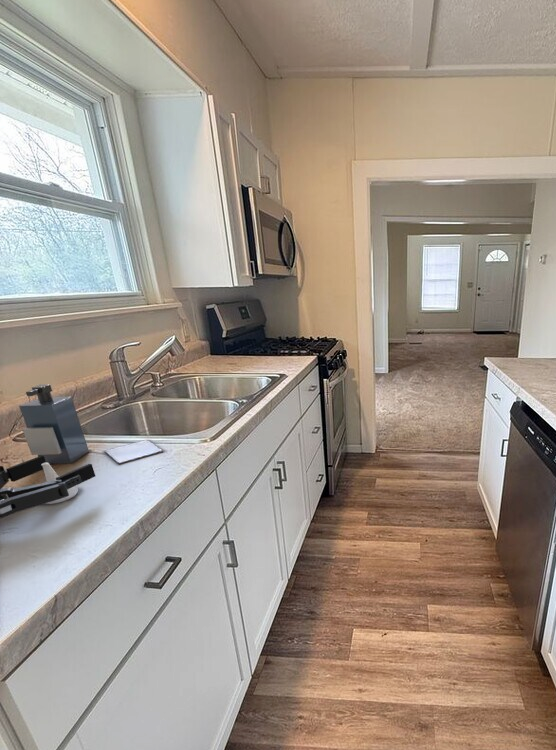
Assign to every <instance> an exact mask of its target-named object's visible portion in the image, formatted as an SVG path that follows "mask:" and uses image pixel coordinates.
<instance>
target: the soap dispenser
mask: <svg viewBox="0 0 556 750" xmlns="http://www.w3.org/2000/svg"><path fill="white" fill-rule="evenodd" d="M52 392H53V389H52V385H51V384H38V385H35V386H31V389H30V390H27V391H25V394H26V397H33V396H36V398H35V399H33V400H31V401H28V402H25V403H23V404H20V405H18V407H19V410H20V412H21V416H22V418H23V420H24V424H25V425H26V428H33V427H53V429H54V432H55V435H56V438H57V441H58V444H59V447H60V449H61V453H60V454H48V455H37V457H39V456H44V458H45V461H46V462H47V463H49V464H72V463H74V462H75V461H76V460H79V459H80V458H81V457H84V455H86V454H88V453H90V450H89V446H88V444H87V439H86V437H85V434H84V430H83V428H82V424H81V422H80V419H79V418H80V417H79V415H78V412H77V409H76V405H75V403H74V400H73V396H53V395H52Z"/></svg>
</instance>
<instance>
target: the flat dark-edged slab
mask: <svg viewBox="0 0 556 750" xmlns="http://www.w3.org/2000/svg"><path fill="white" fill-rule="evenodd" d="M104 453H105V454H106V455H107V456H109V457H110V458H111V459H112V460H113V461H115V463H117V464H118V465H122V464H126V463H130V462H132V461H133V462H134V461H136V460H140V459H143V458H147V457H151V456H154V455H158V454H161V453H164V450H163V449H161V448H160V447H159V446H157V445H156V444H154V443H153V442H151V441H149V440H148V439H144V440H140V441H137V442H132V443H129V444H125V445H121V446H118V447H113V448H110V449H109V448H108V449H106V450H104Z"/></svg>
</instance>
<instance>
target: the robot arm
mask: <svg viewBox="0 0 556 750" xmlns="http://www.w3.org/2000/svg"><path fill="white" fill-rule="evenodd" d="M45 462H46V461H45V458H44V456H39V457H38V456H37V457H34V458H31V459H29V460H26V461H23V462H20V463H18V464H15V465H13V466H10V467H6V468H5V467H4V466H3V465H0V519H4V518H6V517H9V516H11V515H13V514H16V513H19V512H22V511H26V510H28V509H32V508H36V507H38V506H42V505H44V504H45V503H48V502H51V501H55V500H58V499H61V498H64V497H67V496H69V493H68V491H67V489H69V488H72V487H74V486H76V485H77V486H78V485H80V484H83V483H84V482H87V481H88V480H91V479H93V478H95V477H96V473H95V470H94V467H93V464H92V463H88V464H85V465H82V466H80V467H77V468H75V469H73V470H70V471H69V472H66V473H64V474H62V475H58V476H59V477H57V478H56V481H51V482H46V481H45V482H42V483H37V484H32V485H28V486H22V487H18V488H13V487H5V486H6V485H7V484H8V483H9V482H10V481H11V482H13V483H14V482H16V481H19V480H21V479H22V480H23V479H24V478H27V477H29V476H32V475H34V474H36V473H39V472H41V471H44V469H43V466H42V465H41V464H43V463H45ZM4 487H5V488H4ZM45 505H46V504H45Z"/></svg>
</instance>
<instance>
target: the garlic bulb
mask: <svg viewBox="0 0 556 750" xmlns="http://www.w3.org/2000/svg"><path fill="white" fill-rule="evenodd" d="M41 465H42V466H43V469H44V470H43V473H44V476H45V478H44V479H45V483H46V482H51V481H56V478H57V477H59V476H60V475H58V473H57V472H56V471H55V469H54V468H53V467H52V465H50V464H49V463H47V462H45V463H43V464H41ZM67 491H68V493H69V496H67V497H64V498H61V499H58V500H55V501H51V502H48V503H45V505H53V504H58V503H61V502H65V501H67V500H70V499H72V498H73V497H75V496H76V495H77V494H78V492H79V487H78V485H76V486H74V487H72V488H69V489H67Z"/></svg>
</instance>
